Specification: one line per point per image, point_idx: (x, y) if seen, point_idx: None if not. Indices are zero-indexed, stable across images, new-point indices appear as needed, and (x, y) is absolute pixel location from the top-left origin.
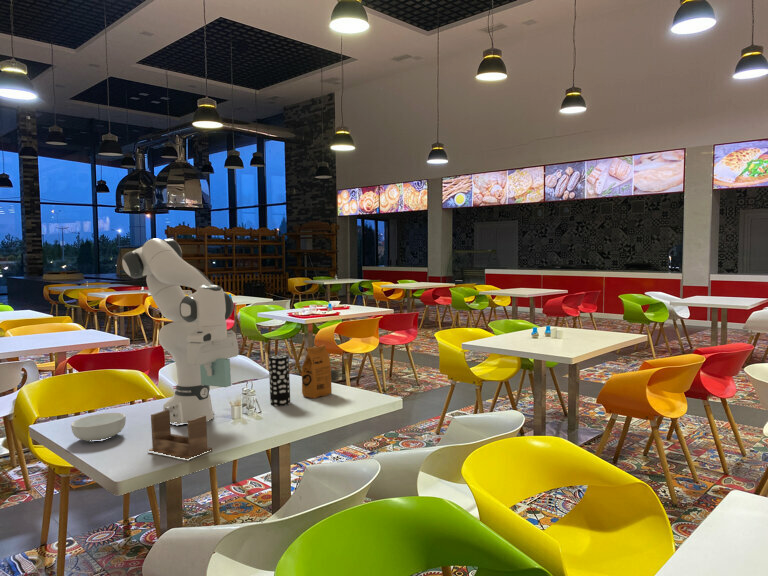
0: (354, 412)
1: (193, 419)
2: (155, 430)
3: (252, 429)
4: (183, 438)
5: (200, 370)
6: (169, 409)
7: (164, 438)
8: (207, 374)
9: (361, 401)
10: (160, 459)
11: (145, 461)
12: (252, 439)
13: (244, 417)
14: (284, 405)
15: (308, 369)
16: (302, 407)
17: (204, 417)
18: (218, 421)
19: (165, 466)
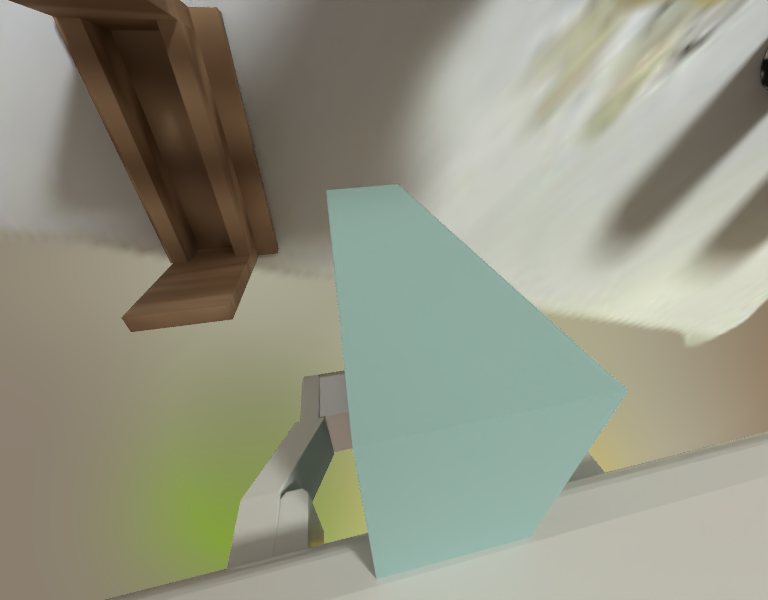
0: (638, 323)
1: (156, 322)
2: (24, 2)
3: (483, 200)
4: (203, 155)
5: (332, 245)
6: None
7: (137, 22)
8: (304, 385)
9: (732, 282)
10: (96, 155)
11: (25, 113)
12: None
13: (617, 37)
14: (764, 85)
15: None
16: (715, 174)
17: (224, 316)
18: None
19: (94, 234)
